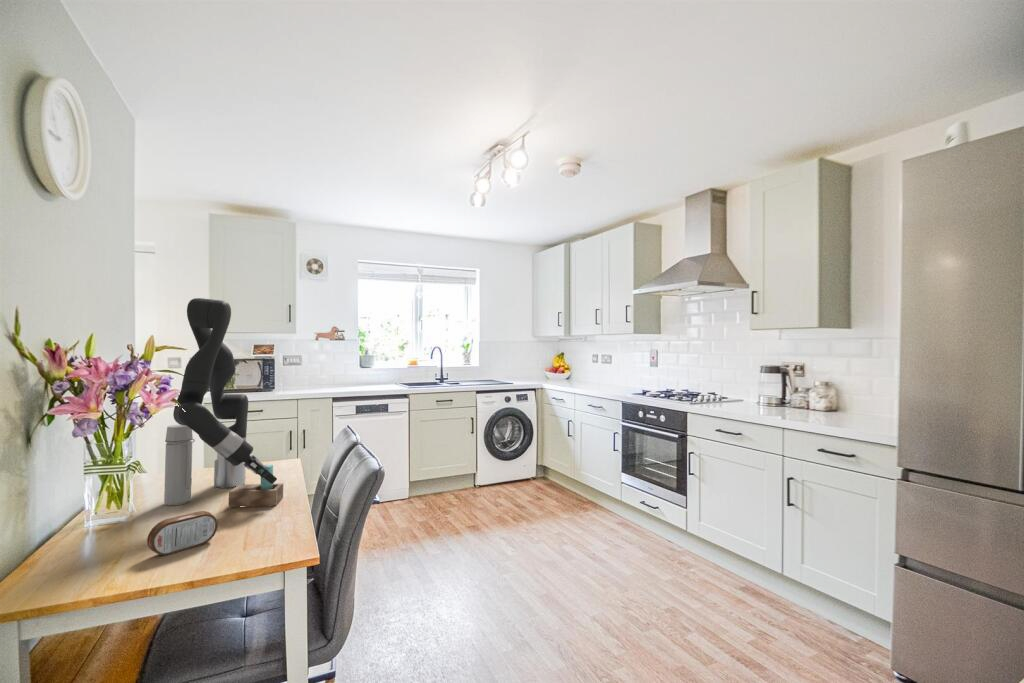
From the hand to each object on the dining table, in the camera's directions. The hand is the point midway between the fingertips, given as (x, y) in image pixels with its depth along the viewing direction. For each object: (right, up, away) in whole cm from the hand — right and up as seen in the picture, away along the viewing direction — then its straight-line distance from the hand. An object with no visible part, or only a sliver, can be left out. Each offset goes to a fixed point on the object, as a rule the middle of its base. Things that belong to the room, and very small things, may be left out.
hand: (271, 478), depth 157 cm
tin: (-3, -7, -37) cm, 38 cm away
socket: (-4, -8, -1) cm, 9 cm away
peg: (-1, -8, -1) cm, 8 cm away
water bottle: (-28, -7, -3) cm, 29 cm away
